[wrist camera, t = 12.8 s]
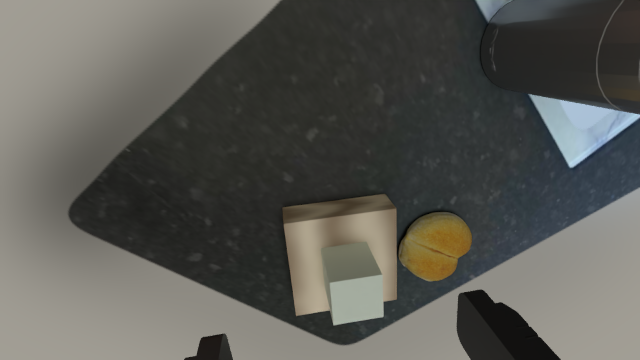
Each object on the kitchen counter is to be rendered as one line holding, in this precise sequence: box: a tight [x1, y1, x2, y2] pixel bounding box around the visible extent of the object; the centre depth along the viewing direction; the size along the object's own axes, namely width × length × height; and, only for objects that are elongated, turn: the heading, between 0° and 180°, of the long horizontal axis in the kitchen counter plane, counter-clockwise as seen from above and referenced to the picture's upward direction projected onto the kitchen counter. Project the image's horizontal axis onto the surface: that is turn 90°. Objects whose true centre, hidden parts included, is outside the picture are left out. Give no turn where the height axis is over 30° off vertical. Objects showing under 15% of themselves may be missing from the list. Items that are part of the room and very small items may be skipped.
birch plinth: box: [282, 194, 397, 316], centre depth 41 cm, size 12×12×4 cm
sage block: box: [321, 242, 383, 325], centre depth 36 cm, size 5×5×6 cm
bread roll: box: [399, 212, 472, 281], centre depth 43 cm, size 8×9×4 cm
